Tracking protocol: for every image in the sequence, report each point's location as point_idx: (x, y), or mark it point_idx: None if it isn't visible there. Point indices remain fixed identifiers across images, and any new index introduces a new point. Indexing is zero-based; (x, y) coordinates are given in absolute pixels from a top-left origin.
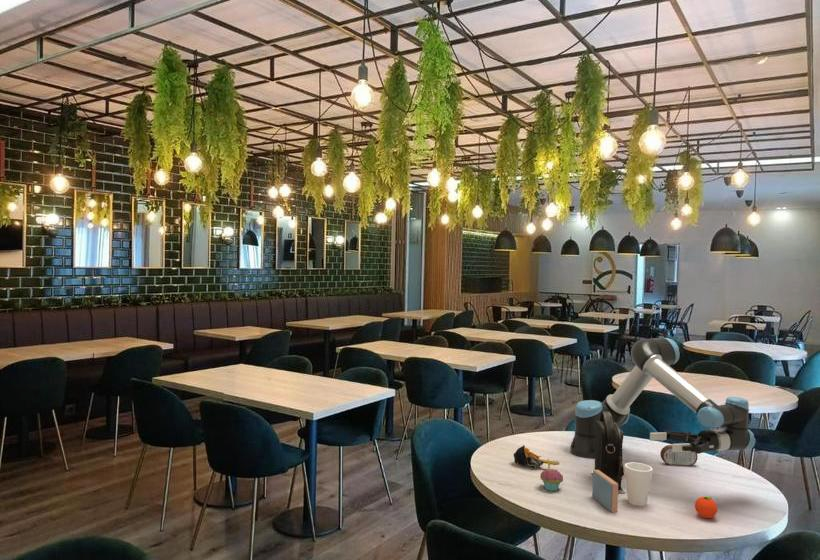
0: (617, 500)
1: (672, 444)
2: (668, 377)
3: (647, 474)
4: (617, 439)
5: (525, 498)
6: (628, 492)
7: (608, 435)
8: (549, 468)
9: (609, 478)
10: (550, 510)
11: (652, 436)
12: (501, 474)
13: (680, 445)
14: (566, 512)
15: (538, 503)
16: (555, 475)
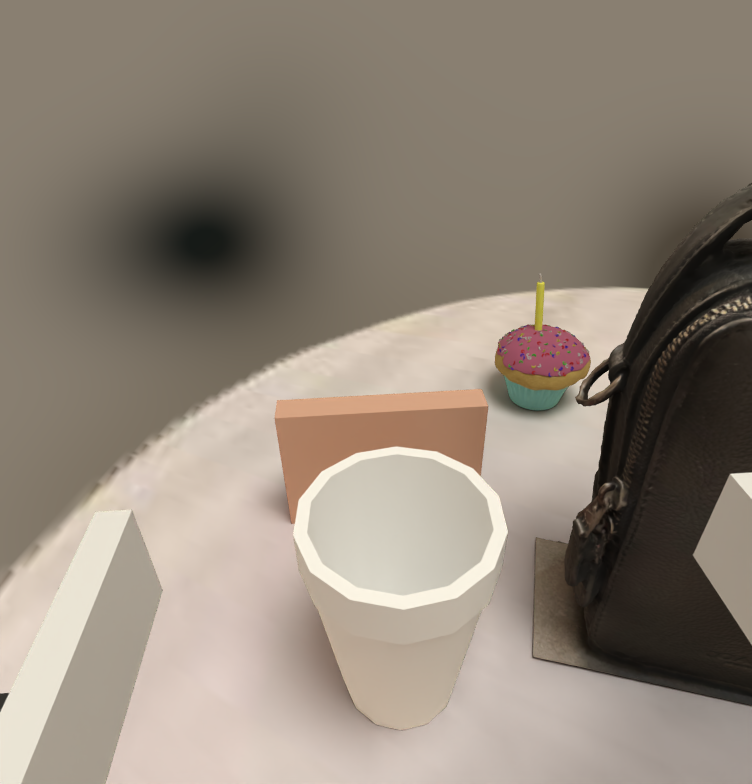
0: (285, 482)
1: (134, 517)
2: None
3: (296, 550)
4: (656, 346)
5: (435, 334)
6: (393, 578)
7: (652, 284)
8: (535, 317)
9: (354, 410)
10: (342, 361)
11: (729, 533)
12: None
13: (48, 640)
14: (321, 387)
15: (397, 349)
16: (511, 343)
